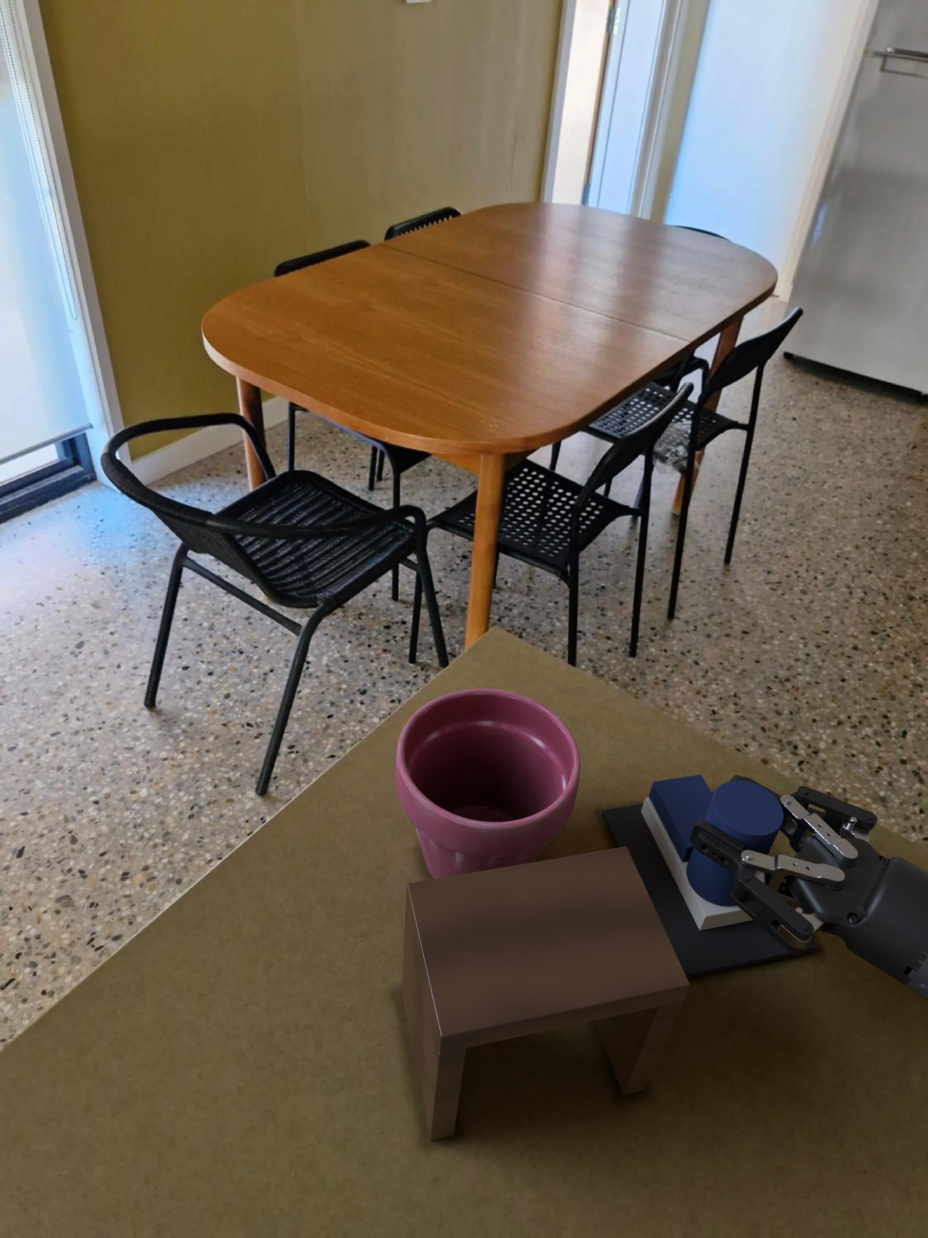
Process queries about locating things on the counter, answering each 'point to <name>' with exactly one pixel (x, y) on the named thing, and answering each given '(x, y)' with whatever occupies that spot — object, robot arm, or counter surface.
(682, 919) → the shoe mat
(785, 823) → the robot arm
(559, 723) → the flower pot
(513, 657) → the counter surface
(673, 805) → the boot
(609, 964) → the shoe bench
